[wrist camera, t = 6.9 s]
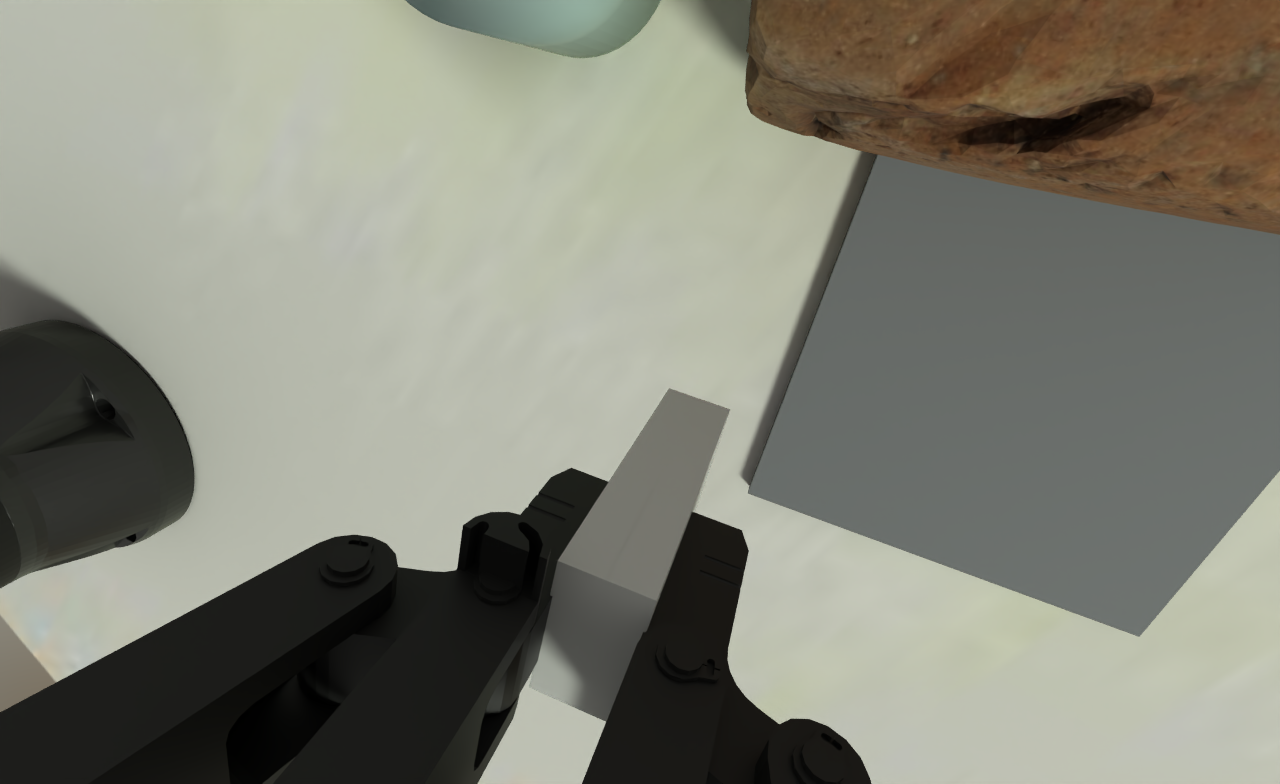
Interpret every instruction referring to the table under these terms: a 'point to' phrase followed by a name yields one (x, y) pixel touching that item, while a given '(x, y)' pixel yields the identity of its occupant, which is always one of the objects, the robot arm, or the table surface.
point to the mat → (1035, 389)
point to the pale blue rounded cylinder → (547, 22)
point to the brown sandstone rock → (1041, 94)
